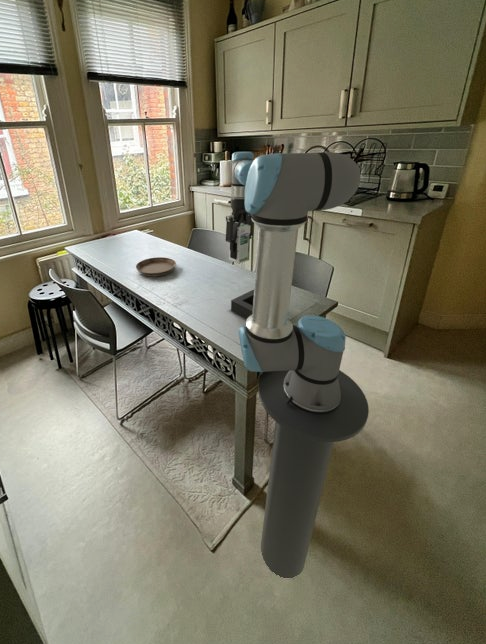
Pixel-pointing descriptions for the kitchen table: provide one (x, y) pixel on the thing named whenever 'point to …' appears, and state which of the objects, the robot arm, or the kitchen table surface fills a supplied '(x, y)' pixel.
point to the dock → (243, 304)
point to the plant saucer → (156, 266)
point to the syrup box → (242, 244)
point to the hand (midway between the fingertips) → (239, 255)
